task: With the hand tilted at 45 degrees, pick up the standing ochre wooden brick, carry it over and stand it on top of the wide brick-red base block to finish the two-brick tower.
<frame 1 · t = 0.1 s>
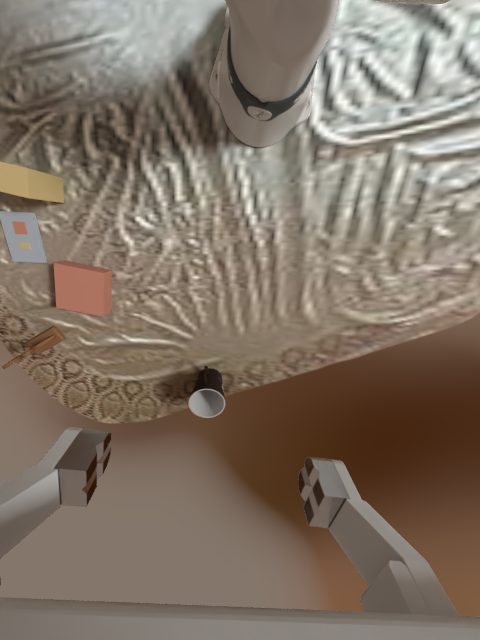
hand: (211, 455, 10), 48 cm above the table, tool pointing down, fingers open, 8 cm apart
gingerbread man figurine: (47, 339, 59), on the table
ochre brick: (51, 187, 47), on the table
coffee mug: (212, 373, 65), on the table
base brick: (89, 286, 55), on the table
instruction card: (24, 238, 50), on the table
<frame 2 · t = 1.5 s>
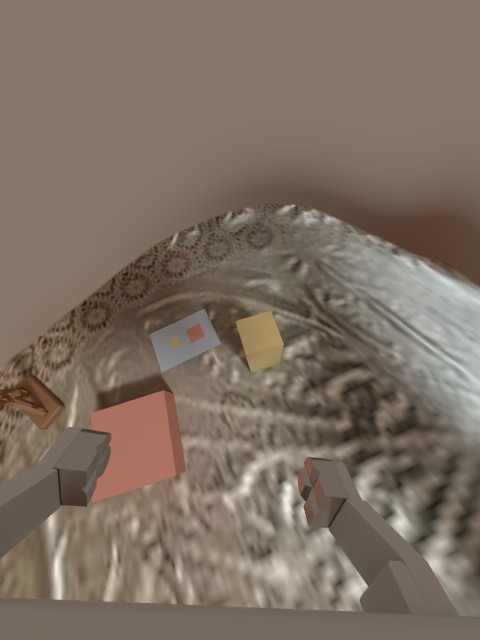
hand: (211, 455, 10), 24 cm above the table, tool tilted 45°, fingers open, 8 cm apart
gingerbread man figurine: (40, 401, 37), on the table
ochre brick: (261, 354, 36), on the table
base brick: (145, 440, 33), on the table
instruction card: (184, 339, 38), on the table
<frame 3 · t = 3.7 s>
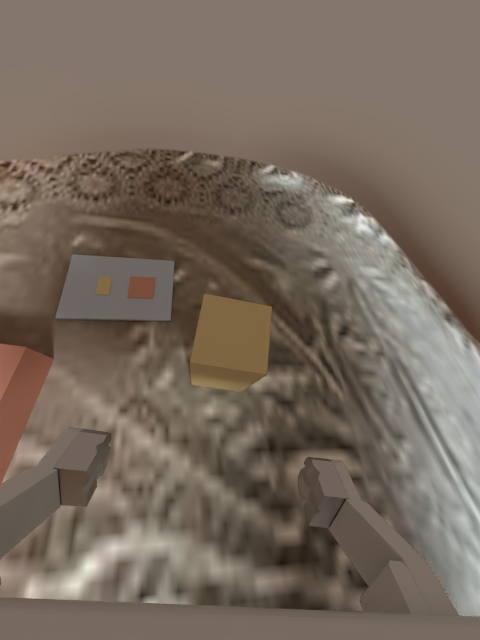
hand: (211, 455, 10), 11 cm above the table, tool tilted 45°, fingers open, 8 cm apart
ochre brick: (219, 364, 23), on the table
instruction card: (121, 288, 24), on the table
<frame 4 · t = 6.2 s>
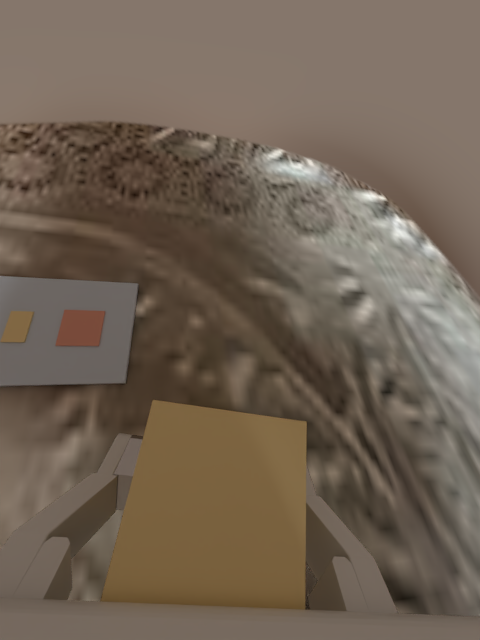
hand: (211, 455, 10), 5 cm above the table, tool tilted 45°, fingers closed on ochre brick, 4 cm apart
ochre brick: (203, 456, 14), on the table, touching gripper
instruction card: (48, 328, 15), on the table
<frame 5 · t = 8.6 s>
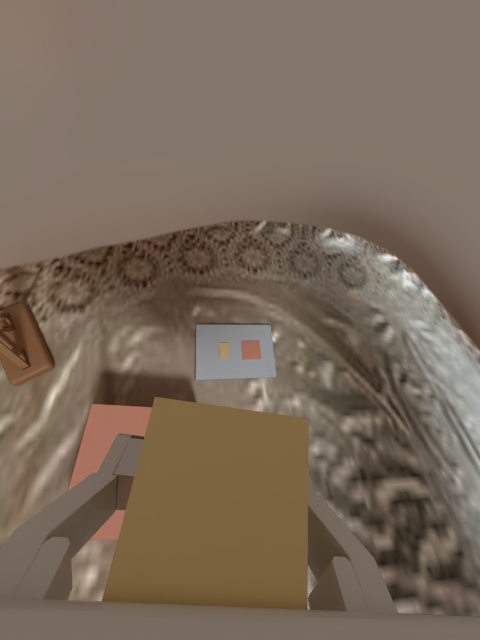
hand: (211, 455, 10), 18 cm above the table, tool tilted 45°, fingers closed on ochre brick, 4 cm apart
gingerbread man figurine: (23, 343, 27), on the table
ochre brick: (204, 454, 14), point 13 cm above the table, touching gripper
base brick: (144, 460, 25), on the table
instruction card: (235, 350, 31), on the table
when the fingers open (10 cm above the table, at t = 11.2 s): ochre brick drops 1 cm, point 4 cm above the table.
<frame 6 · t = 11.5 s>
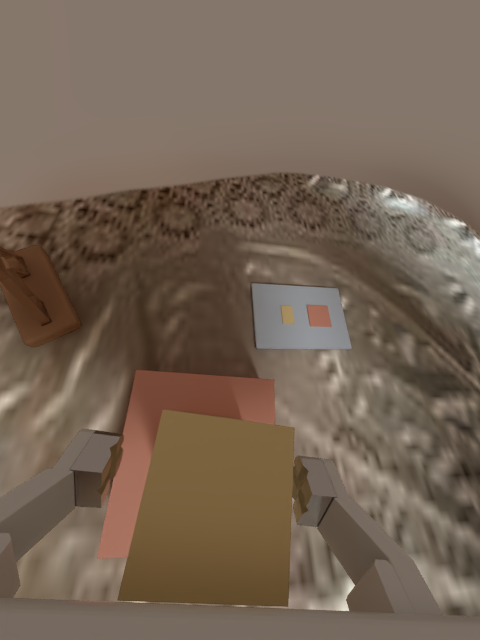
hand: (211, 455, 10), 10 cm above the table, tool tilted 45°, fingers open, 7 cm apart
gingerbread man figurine: (39, 296, 21), on the table
ochre brick: (204, 452, 15), point 4 cm above the table
base brick: (199, 446, 19), on the table
instruction card: (299, 316, 25), on the table
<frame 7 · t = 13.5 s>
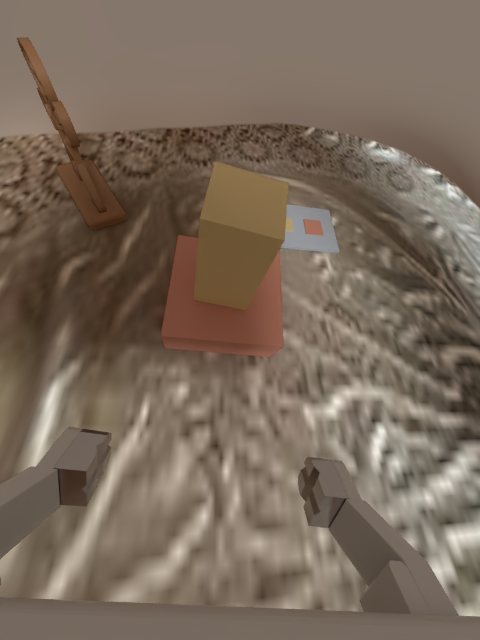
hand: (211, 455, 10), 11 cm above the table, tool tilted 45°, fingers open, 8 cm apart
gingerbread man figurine: (93, 198, 26), on the table
ochre brick: (223, 283, 21), point 4 cm above the table, touching base brick
base brick: (222, 307, 25), on the table, touching ochre brick
instruction card: (297, 227, 31), on the table
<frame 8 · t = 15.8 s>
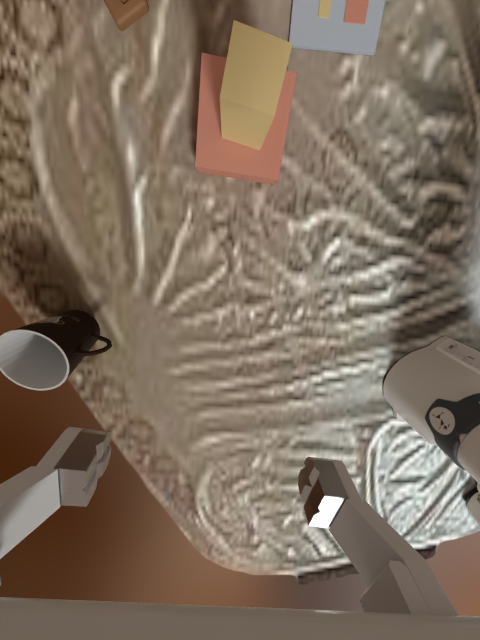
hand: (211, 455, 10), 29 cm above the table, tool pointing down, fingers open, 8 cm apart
ochre brick: (246, 120, 26), point 4 cm above the table, touching base brick
coffee mug: (89, 331, 39), on the table
base brick: (241, 134, 30), on the table, touching ochre brick
instruction card: (337, 8, 26), on the table
spread jar: (479, 488, 59), on the table
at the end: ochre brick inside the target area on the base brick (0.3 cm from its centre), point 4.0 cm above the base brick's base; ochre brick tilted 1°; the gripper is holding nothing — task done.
